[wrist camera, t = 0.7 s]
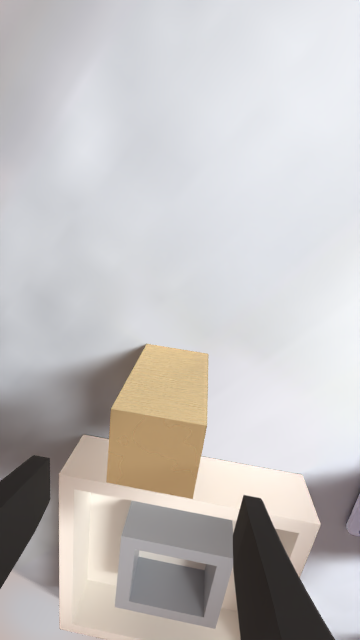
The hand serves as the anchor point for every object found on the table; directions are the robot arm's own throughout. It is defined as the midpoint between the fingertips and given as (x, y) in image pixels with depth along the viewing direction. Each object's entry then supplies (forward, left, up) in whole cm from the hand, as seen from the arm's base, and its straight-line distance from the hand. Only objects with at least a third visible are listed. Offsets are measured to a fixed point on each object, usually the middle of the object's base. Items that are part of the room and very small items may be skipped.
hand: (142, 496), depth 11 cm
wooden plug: (0, 0, -9) cm, 9 cm away
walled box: (-2, +14, -9) cm, 17 cm away
